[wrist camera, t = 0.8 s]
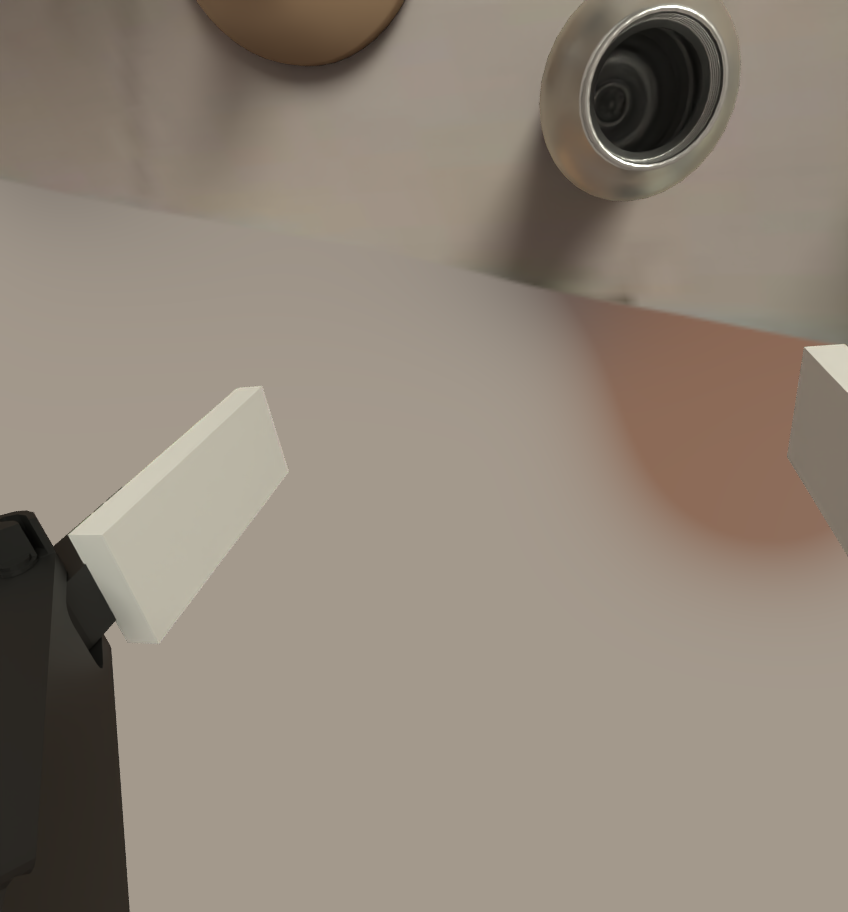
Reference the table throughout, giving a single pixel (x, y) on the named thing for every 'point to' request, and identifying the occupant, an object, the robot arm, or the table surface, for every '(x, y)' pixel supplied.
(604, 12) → the plastic bottle
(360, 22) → the peg stand
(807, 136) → the table surface
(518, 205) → the table surface
